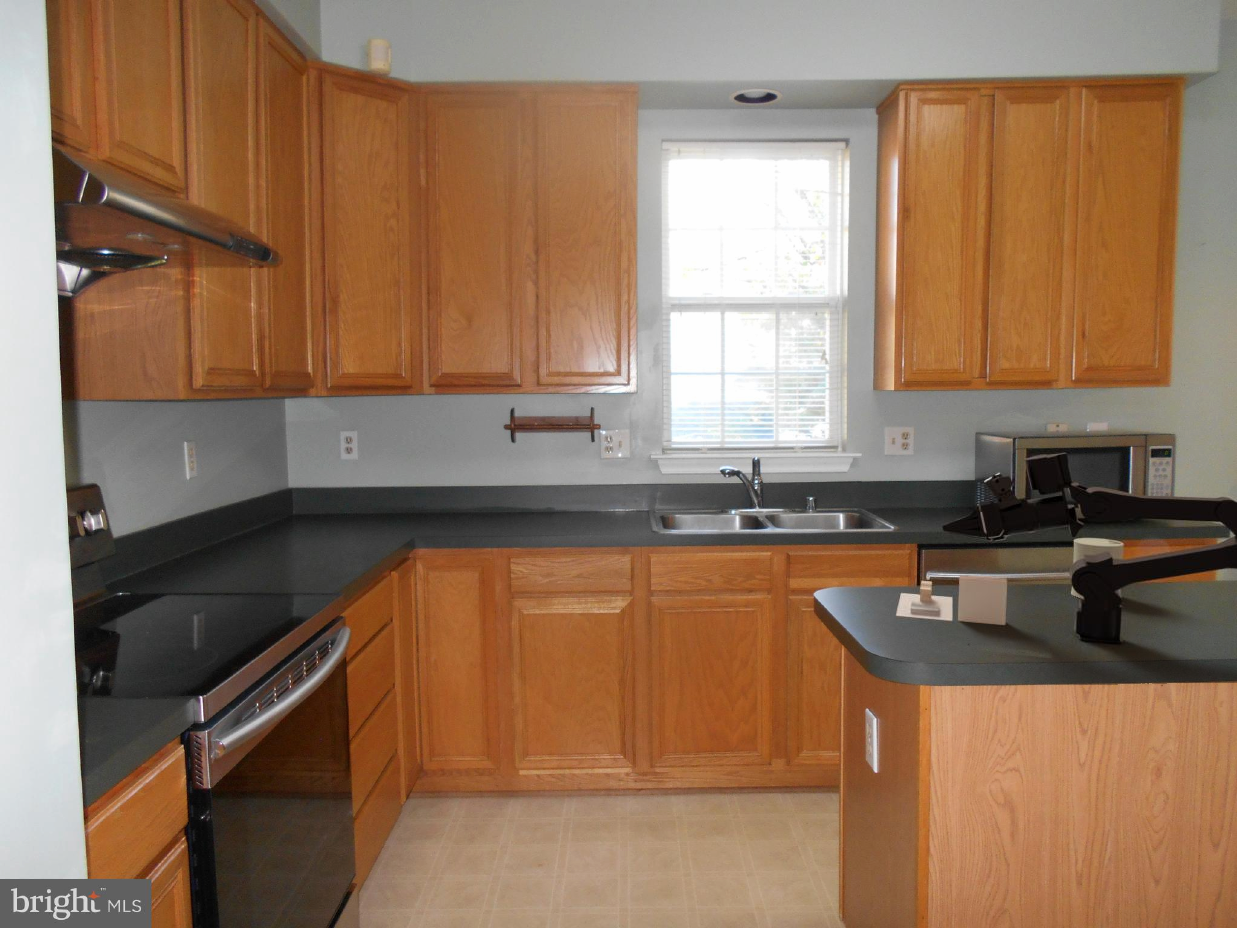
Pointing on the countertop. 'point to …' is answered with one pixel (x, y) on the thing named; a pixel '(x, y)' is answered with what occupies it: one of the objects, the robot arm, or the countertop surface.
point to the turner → (925, 601)
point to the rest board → (944, 602)
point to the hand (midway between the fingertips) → (945, 529)
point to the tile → (982, 599)
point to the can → (1096, 551)
